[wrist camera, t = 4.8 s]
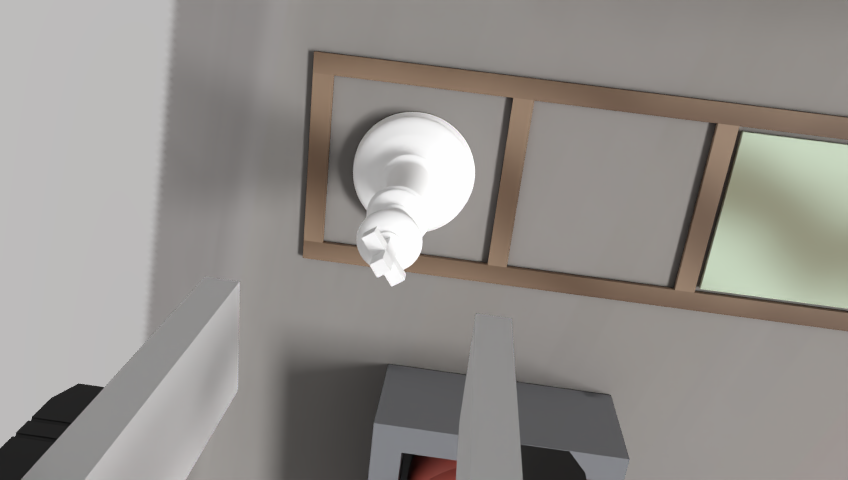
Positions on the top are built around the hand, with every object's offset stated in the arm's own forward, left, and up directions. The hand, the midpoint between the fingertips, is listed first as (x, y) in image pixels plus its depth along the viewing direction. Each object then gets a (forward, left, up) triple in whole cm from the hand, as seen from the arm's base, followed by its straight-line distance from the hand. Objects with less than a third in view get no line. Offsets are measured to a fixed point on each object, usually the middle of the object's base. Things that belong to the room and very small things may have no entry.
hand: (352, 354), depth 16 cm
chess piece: (0, 0, -15) cm, 15 cm away
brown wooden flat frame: (0, +8, -15) cm, 17 cm away
